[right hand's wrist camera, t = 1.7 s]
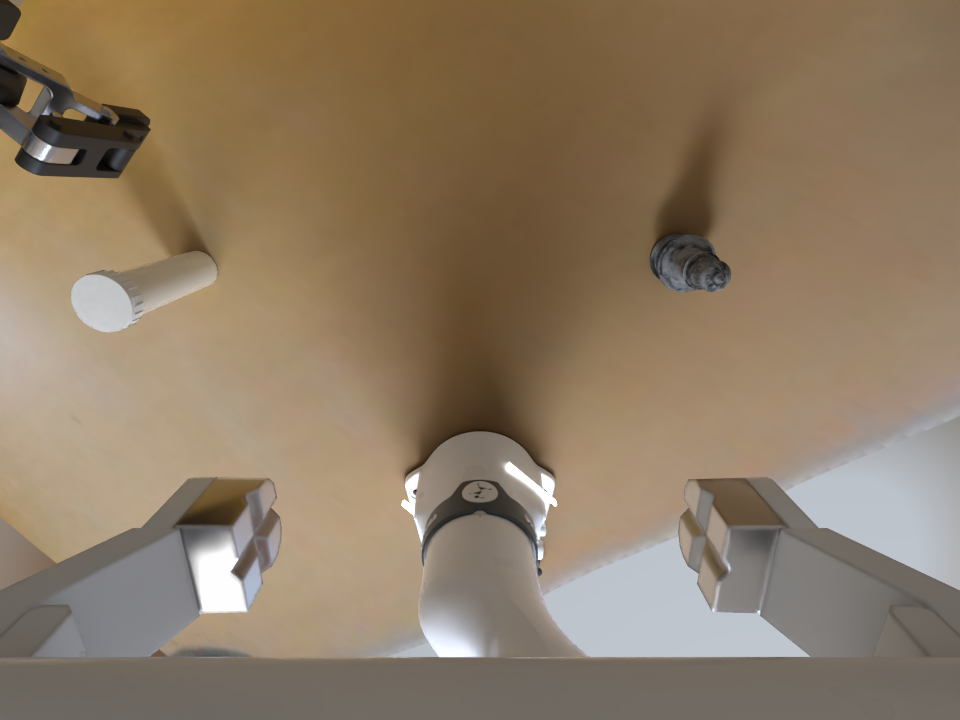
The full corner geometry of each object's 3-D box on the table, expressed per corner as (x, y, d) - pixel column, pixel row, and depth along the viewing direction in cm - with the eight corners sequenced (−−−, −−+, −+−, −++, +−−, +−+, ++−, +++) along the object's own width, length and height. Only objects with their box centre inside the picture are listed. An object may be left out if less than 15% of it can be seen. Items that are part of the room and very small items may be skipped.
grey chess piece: (635, 264, 56) (674, 287, 45) (673, 219, 55) (723, 231, 43) (675, 295, 58) (723, 326, 46) (713, 252, 56) (772, 273, 45)
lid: (72, 295, 43) (57, 299, 42) (108, 257, 42) (94, 260, 41) (120, 338, 45) (107, 344, 43) (157, 302, 44) (145, 307, 42)
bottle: (173, 266, 57) (69, 299, 42) (196, 242, 56) (99, 267, 42) (201, 294, 58) (110, 335, 43) (225, 271, 57) (140, 305, 43)
